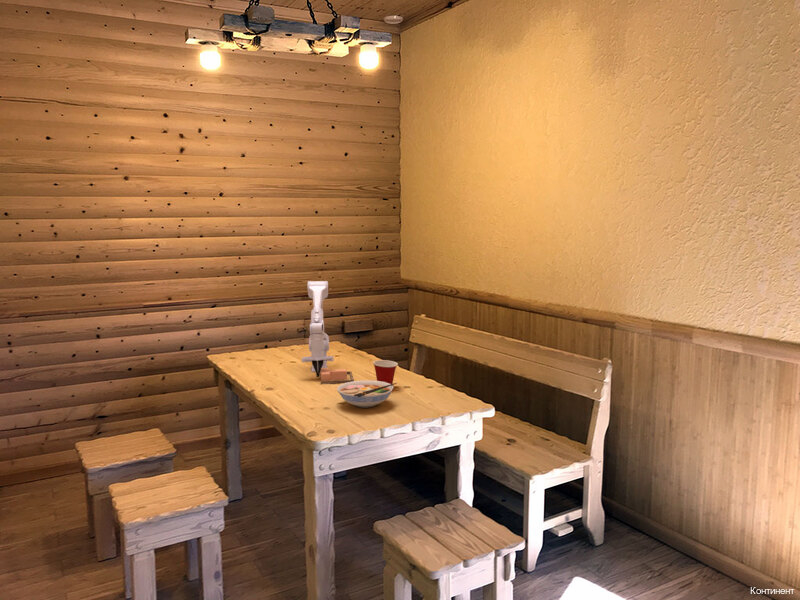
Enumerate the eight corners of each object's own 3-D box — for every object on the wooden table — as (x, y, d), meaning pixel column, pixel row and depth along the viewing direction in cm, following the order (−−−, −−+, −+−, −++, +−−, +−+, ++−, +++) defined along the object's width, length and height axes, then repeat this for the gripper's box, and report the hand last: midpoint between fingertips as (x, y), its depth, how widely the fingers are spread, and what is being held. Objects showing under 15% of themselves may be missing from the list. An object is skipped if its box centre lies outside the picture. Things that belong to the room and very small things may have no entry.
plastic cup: (395, 392, 283) (395, 365, 281) (370, 391, 285) (370, 364, 283) (400, 386, 293) (400, 360, 291) (376, 385, 295) (376, 359, 294)
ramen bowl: (365, 393, 282) (365, 375, 280) (407, 403, 267) (406, 383, 266) (323, 407, 262) (322, 387, 261) (365, 418, 248) (365, 397, 247)
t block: (320, 376, 311) (320, 368, 311) (346, 375, 313) (346, 367, 313) (321, 382, 300) (321, 374, 299) (347, 381, 301) (347, 373, 301)
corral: (320, 374, 314) (320, 372, 314) (351, 373, 316) (351, 371, 316) (320, 384, 297) (320, 381, 297) (354, 382, 299) (354, 380, 299)
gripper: (301, 350, 298) (302, 379, 300) (333, 349, 300) (334, 378, 302) (301, 347, 305) (302, 375, 307) (332, 346, 307) (333, 374, 309)
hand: (318, 376), depth 305 cm, fingers closed
